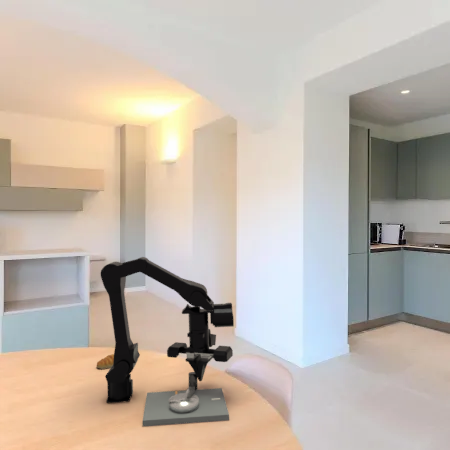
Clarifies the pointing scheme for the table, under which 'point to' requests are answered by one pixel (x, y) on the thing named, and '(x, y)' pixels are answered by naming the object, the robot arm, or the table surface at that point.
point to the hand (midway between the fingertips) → (200, 380)
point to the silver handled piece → (186, 397)
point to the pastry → (106, 362)
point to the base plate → (206, 412)
